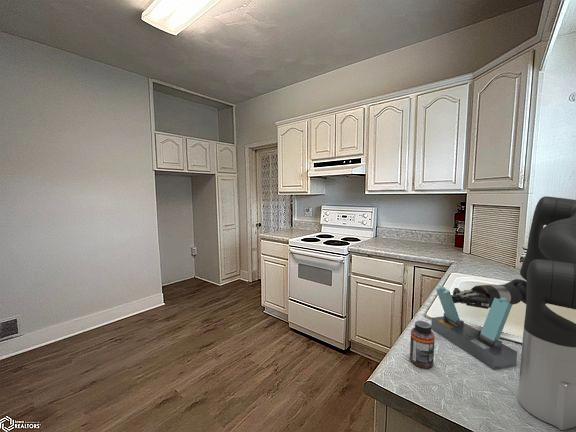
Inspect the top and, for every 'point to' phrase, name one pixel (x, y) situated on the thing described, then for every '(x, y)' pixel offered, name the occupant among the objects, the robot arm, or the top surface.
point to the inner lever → (495, 320)
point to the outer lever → (448, 304)
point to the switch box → (475, 343)
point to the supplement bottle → (422, 345)
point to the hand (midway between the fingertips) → (449, 299)
